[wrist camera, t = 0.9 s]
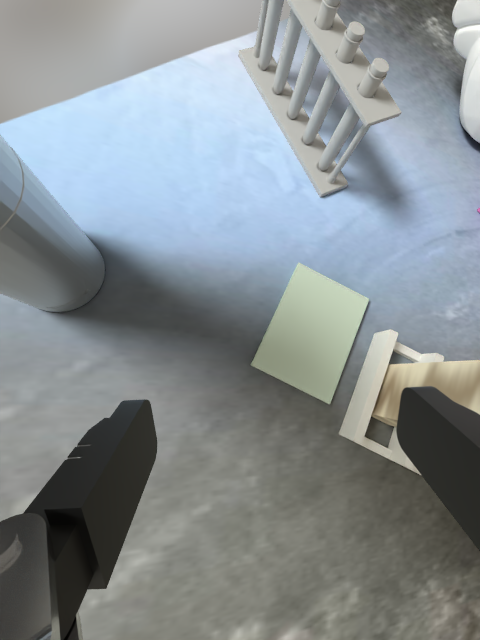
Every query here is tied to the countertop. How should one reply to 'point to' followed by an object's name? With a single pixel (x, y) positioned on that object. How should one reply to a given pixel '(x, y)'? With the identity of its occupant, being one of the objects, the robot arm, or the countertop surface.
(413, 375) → the tall wooden block
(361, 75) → the test tube rack
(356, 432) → the offcut rack
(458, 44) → the decorative rooster
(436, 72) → the countertop surface
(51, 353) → the countertop surface
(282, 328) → the sage mat
